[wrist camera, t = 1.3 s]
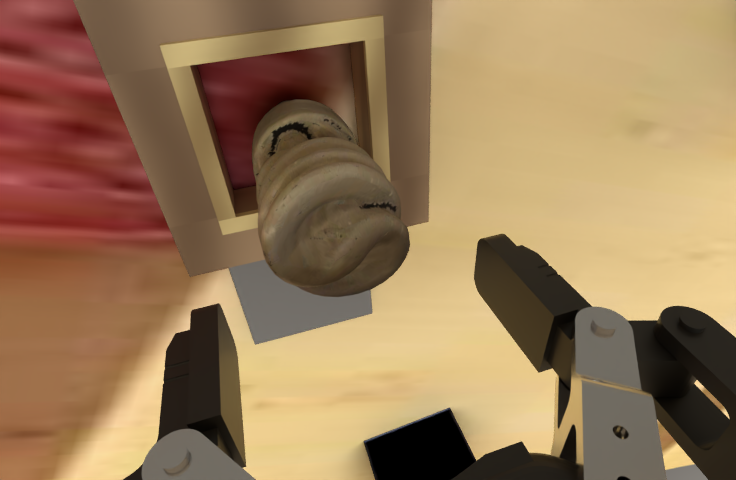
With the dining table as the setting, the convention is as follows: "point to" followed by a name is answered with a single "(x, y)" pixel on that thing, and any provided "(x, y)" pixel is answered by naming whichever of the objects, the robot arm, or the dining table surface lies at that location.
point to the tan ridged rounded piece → (323, 203)
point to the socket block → (247, 39)
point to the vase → (421, 450)
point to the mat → (289, 304)
